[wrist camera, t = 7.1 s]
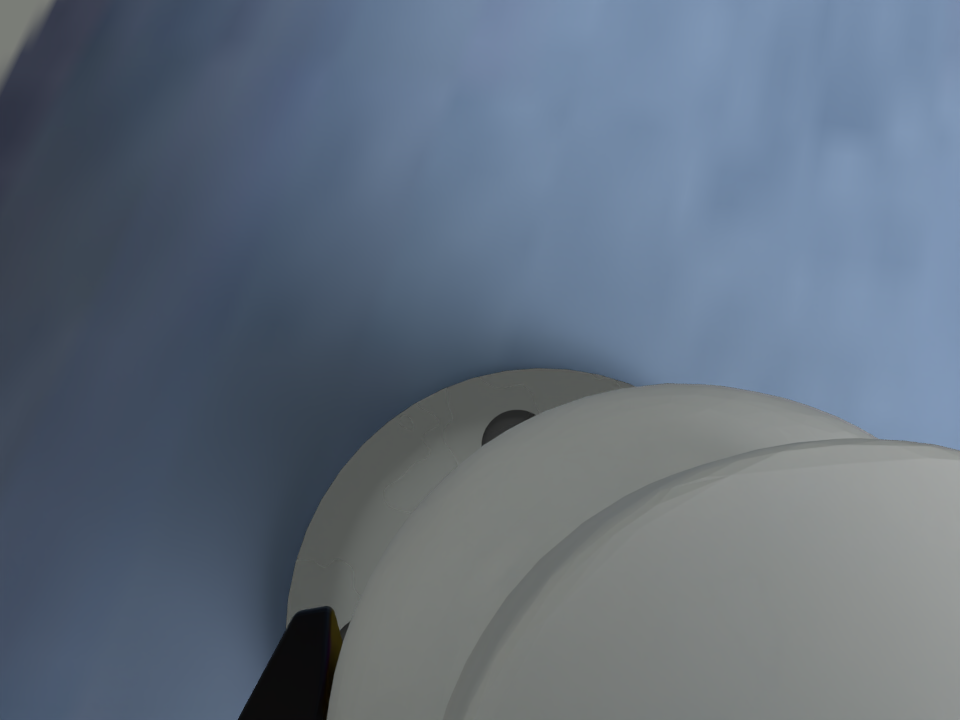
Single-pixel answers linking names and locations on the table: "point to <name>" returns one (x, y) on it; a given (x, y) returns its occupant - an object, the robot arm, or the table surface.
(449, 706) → the supplement bottle
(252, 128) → the table surface
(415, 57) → the table surface
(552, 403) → the rosette plate
